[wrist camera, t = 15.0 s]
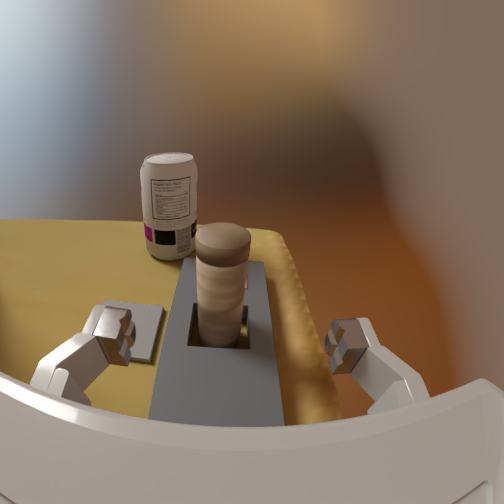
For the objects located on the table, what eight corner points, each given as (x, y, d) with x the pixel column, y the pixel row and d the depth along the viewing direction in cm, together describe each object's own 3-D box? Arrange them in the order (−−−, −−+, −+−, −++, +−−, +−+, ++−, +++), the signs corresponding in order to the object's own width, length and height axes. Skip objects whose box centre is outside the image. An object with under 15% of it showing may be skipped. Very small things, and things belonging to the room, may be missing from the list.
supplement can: (137, 253, 41) (128, 161, 33) (167, 231, 47) (165, 149, 39) (176, 269, 38) (173, 167, 30) (205, 244, 45) (208, 155, 37)
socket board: (280, 440, 19) (285, 431, 18) (153, 434, 18) (146, 424, 17) (261, 275, 39) (263, 260, 38) (185, 271, 38) (184, 256, 37)
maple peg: (217, 362, 26) (219, 256, 19) (190, 336, 28) (184, 231, 22) (248, 341, 29) (262, 238, 22) (221, 319, 31) (226, 218, 24)
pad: (150, 362, 25) (149, 359, 24) (84, 351, 24) (83, 347, 24) (163, 309, 31) (163, 306, 31) (106, 303, 31) (105, 299, 30)
